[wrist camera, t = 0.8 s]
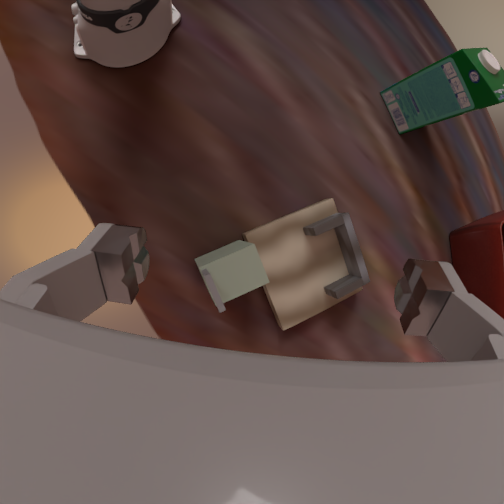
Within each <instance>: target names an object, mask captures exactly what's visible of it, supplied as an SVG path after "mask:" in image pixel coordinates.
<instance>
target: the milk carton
mask: <svg viewBox="0 0 504 504" xmlns="http://www.w3.org/2000/svg"><path fill="white" fill-rule="evenodd" d="M380 94H381V96H382V98H383V100H384V102H385V104H386V106H387V108H388V110H389V112H390V115H391V117H392V119H393V121H394V123H395V126H396V128H397V130H398V133H399V135H401V134H404V133H407V132H409V131H412V130H415V129H418V128H421V127H424V126H427V125H430V124H433V123H436V122H440V121H443V120H446V119H449V118H452V117H455V116H458V115H462V114H465V113H468V112H472V111H475V110H478V109H482V108H485V107H488V106H492V105H495V104H499V103H502V102H504V70H503V69H502V67H501V66H500V65H499V63H498V61H497V60H496V58H495V57H494V56H493V55H492V54H491V53H490V51H489V50H488V49H487V48H471V49H461V50H459V51H457V52H455V53H453V54H451V55H449V56H447V57H445V58H443V59H441V60H439V61H437V62H435V63H433V64H431V65H429V66H428V67H426V68H424V69H422V70H420V71H418V72H416V73H414V74H412V75H411V76H409V77H407V78H405V79H403V80H401V81H400V82H398V83H396V84H394V85H392V86H391V87H389V88H387V89H385V90H383V91H382V92H380Z"/></svg>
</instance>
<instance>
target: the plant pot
mask: <svg viewBox="0 0 504 504" xmlns="http://www.w3.org/2000/svg"><path fill="white" fill-rule="evenodd" d="M450 244H451V252H452V261H453V268H454V270H455V271H456V273H457V275H458V276H459V278H460V280H461V282H462V283H463V285H464V287H465V288H466V290H467V292H468V293H469V294H473V295H474V296H475V297H477V298H478V299H479V300H480V301H482V302H483V303H484V304H486V305H487V306H488V307H489V308H491V309H492V310H493V311H494V312H496V313H497V314H498V315H499V316H500V317H502V318H503V319H504V210H503V211H500V212H497V213H494V214H491V215H489V216H486V217H484V218H481V219H479V220H477V221H474V222H472V223H470V224H468V225H465V226H463V227H461V228H459V229H456V230H454V231H452V232H451V233H450Z"/></svg>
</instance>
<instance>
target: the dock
mask: <svg viewBox="0 0 504 504" xmlns="http://www.w3.org/2000/svg"><path fill="white" fill-rule="evenodd" d="M242 236H243V238H244V241H245V242H249V243H253V244H255V246H256V249H257V251H258V254H259V257H260V259H261V262H262V264H263V267H264V269H265V272H266V274H267V277H268V279H269V283H267V284H265V285H263V288H264V291H265V293H266V296H267V298H268V301H269V303H270V306H271V308H272V311H273V313H274V316H275V318H276V321H277V323H278V326H279V327H280V328H281V329H282V330H283V331H284V330H286V329H288V328H290V327H292V326H294V325H296V324H298V323H300V322H302V321H304V320H306V319H308V318H310V317H312V316H314V315H316V314H318V313H320V312H322V311H324V310H326V309H328V308H330V307H331V306H333V305H335V304H337V303H339V302H341V301H343V300H345V299H346V298H348V297H350V296H352V295H354V294H356V293H357V292H359V291H361V290H363V289H362V286H363V285H365V284H367V283H369V282H370V280H369V276H368V273H367V269H366V266H365V263H364V259H363V256H362V253H361V250H360V246H359V243H358V240H357V237H356V234H355V231H354V228H353V225H352V222H351V219H350V216H349V213H338V211H337V209H336V206H335V203H334V200H333V198H330V199H325V200H322V201H320V202H317V203H315V204H312V205H310V206H308V207H305V208H303V209H300V210H298V211H295V212H293V213H291V214H288V215H286V216H283V217H281V218H278V219H276V220H274V221H271V222H269V223H266V224H264V225H262V226H259V227H257V228H254V229H252V230H250V231H247V232H245V233H243V234H242Z"/></svg>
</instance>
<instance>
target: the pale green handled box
mask: <svg viewBox="0 0 504 504" xmlns="http://www.w3.org/2000/svg"><path fill="white" fill-rule="evenodd" d="M195 262H196V264H197V266H198V269H199V271H200V273H201V276H202V278H203V280H204V283H205V285H206V287H207V289H208V292H209V294H210V296H211V298H212V300H213V302H214V304H215V306H217V308H218V310H219V312H220V313H221V312H223V311H225V310H226V309H225V307H224V304H223V303H225V302H227V301H230V300H232V299H234V298H236V297H239V296H241V295H243V294H245V293H247V292H250V291H252V290H254V289H256V288H258V287H261V286H263V285H265V284H267V283H269V279H268V277H267V274H266V272H265V269H264V267H263V264H262V262H261V259H260V257H259V254H258V251H257V249H256V246H255V244H253V243H249V242H245V241H241V240H238V241H235V242H233V243H231V244H228V245H226V246H224V247H221V248H219V249H217V250H214V251H212V252H210V253H207V254H205V255H203V256H200V257H198V258H196V259H195Z"/></svg>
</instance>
